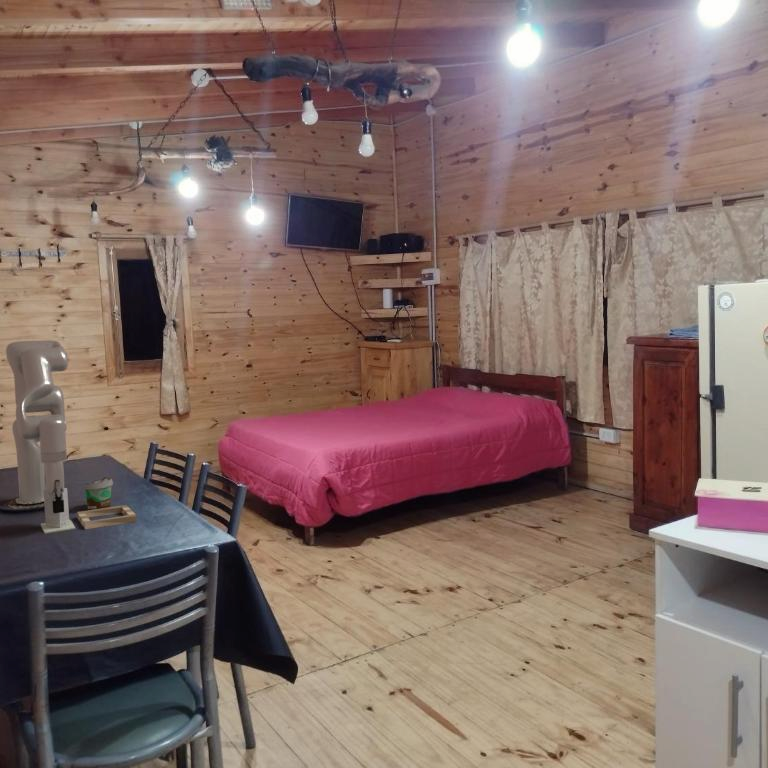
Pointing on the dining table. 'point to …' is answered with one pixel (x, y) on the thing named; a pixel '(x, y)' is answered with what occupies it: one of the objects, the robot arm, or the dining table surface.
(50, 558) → the dining table surface
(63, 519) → the skincare box
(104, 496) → the food container
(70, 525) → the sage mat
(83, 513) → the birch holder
